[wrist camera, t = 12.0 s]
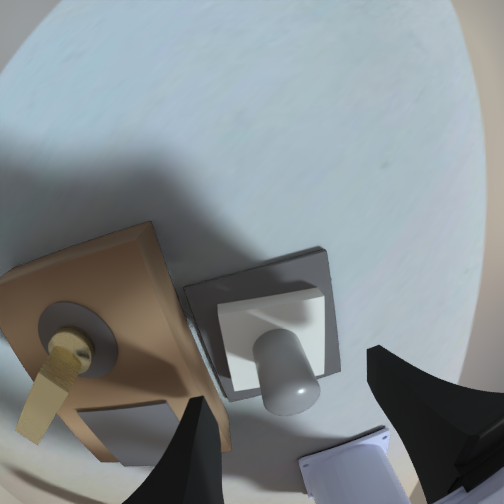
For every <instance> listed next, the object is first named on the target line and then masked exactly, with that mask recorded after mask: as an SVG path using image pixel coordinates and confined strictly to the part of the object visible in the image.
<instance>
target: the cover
mask: <svg viewBox="0 0 504 504" xmlns="http://www.w3.org/2000/svg"><path fill="white" fill-rule="evenodd" d="M217 306H218V318H219V323H220V327H221V332H222V337H223V342H224V346H225V351H226V356H227V360H228V365H229V369H230V374H231V378H232V383H233V387H234V391H240V390H247V389H253V388H259V387H260V389H261V394H262V399H263V403H264V406H265V408H266V409H267V410H268V411H269V412H271V413H273V414H275V415H279V416H290V415H295V414H299V413H301V412H304V411H305V410H307V409H309V408H310V407H311V406H313V405H314V404H315V403H316V401H317V400H318V398H319V396H320V392H321V390H320V386H319V383H318V381H317V379H316V377H315V376H318V375H322V374H324V360H325V300H324V295H323V294H322V292H321V291H320V289H319V288H318V287H316V288H311V289H306V290H300V291H295V292H289V293H283V294H278V295H272V296H266V297H260V298H254V299H248V300H242V301H235V302H229V303H223V304H217Z"/></svg>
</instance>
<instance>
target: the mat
mask: <svg viewBox="0 0 504 504" xmlns="http://www.w3.org/2000/svg"><path fill="white" fill-rule="evenodd" d="M316 287H318V288H319V289H320V291H321V292H322V294H323V295H324V300H325V360H324V374H322V375H318V376H315V377H316V379H319V378H322V377H325V376H329V375H332V374H334V373H337V372H340V371H341V364H340V353H339V343H338V333H337V324H336V315H335V307H334V299H333V291H332V283H331V276H330V269H329V262H328V256H327V251H326V250H325V249H323V250H319V251H316V252H312V253H309V254H305V255H301V256H298V257H294V258H290V259H287V260H283V261H279V262H276V263H272V264H268V265H265V266H261V267H257V268H253V269H250V270H246V271H242V272H239V273H235V274H231V275H227V276H223V277H220V278H216V279H212V280H208V281H204V282H201V283H197V284H193V285H189V286H185V287H184V291H185V294H186V297H187V299H188V302H189V305H190V307H191V310H192V313H193V315H194V318H195V321H196V323H197V326H198V328H199V331H200V333H201V336H202V338H203V341H204V343H205V346H206V348H207V351H208V353H209V356H210V358H211V361H212V363H213V365H214V368H215V370H216V373H217V375H218V377H219V380H220V382H221V384H222V387H223V389H224V391H225V393H226V396H227V398H228V400H229V402H234V401H238V400H243V399H247V398H251V397H255V396H259V395H262V394H261V389H260V387H259V388H253V389H247V390H240V391H234V387H233V383H232V378H231V374H230V369H229V365H228V360H227V356H226V351H225V346H224V342H223V337H222V332H221V327H220V323H219V318H218V306H217V304H223V303H229V302H235V301H242V300H248V299H254V298H260V297H266V296H272V295H278V294H283V293H289V292H295V291H300V290H306V289H311V288H316Z"/></svg>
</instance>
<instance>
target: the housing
mask: <svg viewBox="0 0 504 504" xmlns="http://www.w3.org/2000/svg"><path fill="white" fill-rule="evenodd" d="M67 325H68V326H74V327H77V328H79V329H81V330H82V331H84V332H85V333H86V334H87V335H88V336H89V337H90V339H91V340H92V342H93V344H94V347H95V355H94V357H93V360H92V362H91V364H90V366H89V368H88V370H87V371H86V372H84V373H81V374H78V375H77V377H76V379H75V381H74V383H73V385H72V387H71V390H70V392H69V394H68V395H67V397H66V399H65V400H64V402H63V403H62V405H61V407H60V408H59V410H58V412H57V414H58V415H59V416H60V418H61V419H62V420H63V421H64V422H65V424H66V425H67V426H68V427H69V428H70V429H71V431H72V432H73V433H74V434H75V435H76V436H77V437H78V439H79V440H80V441H81V442H82V443H83V444H84V445H85V446H86V447H87V448H88V449H89V450H90V451H91V453H92V454H93V455H94V456H95V457H96V458H97V459H98V460H99V461H100V462H120V463H121V464H122V465H123V466H151V465H157V463H158V462H159V460H160V459H161V457H162V456H163V454H164V452H165V450H166V449H167V447H168V445H169V443H170V441H171V439H172V438H173V436H174V433H175V431H176V429H177V427H178V425H179V423H180V420H181V418H182V416H183V413H184V411H185V408H186V406H187V403H188V401H189V399H190V398H192V397H198V396H203V395H204V397H205V399H206V401H207V403H208V405H209V407H210V409H211V411H212V413H213V415H214V416H215V418H216V420H217V422H218V425H219V432H220V439H221V453H223V452H229V451H232V449H231V439H230V429H229V418H228V414H227V412H226V409H225V407H224V405H223V403H222V401H221V399H220V397H219V395H218V392H217V390H216V388H215V386H214V384H213V381H212V379H211V377H210V375H209V372H208V370H207V368H206V366H205V363H204V361H203V359H202V356H201V354H200V352H199V349H198V347H197V345H196V342H195V340H194V337H193V335H192V332H191V330H190V327H189V325H188V323H187V320H186V317H185V315H184V312H183V310H182V307H181V305H180V302H179V299H178V297H177V294H176V291H175V289H174V286H173V283H172V281H171V278H170V275H169V272H168V270H167V267H166V264H165V261H164V258H163V255H162V252H161V250H160V247H159V244H158V241H157V238H156V235H155V232H154V229H153V225H152V222H151V221H149V222H145V223H142V224H139V225H136V226H132V227H129V228H126V229H123V230H120V231H117V232H114V233H110V234H107V235H104V236H101V237H98V238H95V239H92V240H89V241H86V242H83V243H81V244H78V245H75V246H72V247H69V248H66V249H63V250H61V251H58V252H55V253H52V254H49V255H47V256H44V257H41V258H39V259H36V260H33V261H31V262H28V263H25V264H23V265H20V266H17V267H15V268H12V269H11V270H9V271H8V272H7V273H5V274H4V275H3V276H1V277H0V328H1V330H2V332H3V334H4V335H5V337H6V339H7V341H8V342H9V344H10V346H11V348H12V349H13V351H14V353H15V354H16V356H17V357H18V359H19V361H20V362H21V364H22V365H23V367H24V368H25V370H26V371H27V373H28V374H29V376H30V377H31V379H32V380H33V382H34V381H35V379H36V377H37V375H38V372H39V371H40V369H41V367H42V366H43V364H44V363H45V361H46V359H47V358H48V356H49V355H50V353H49V349H48V345H49V342H50V340H51V339H52V337H53V336H54V334H55V333H56V331H57V330H58V329H59V328H60V327H62V326H67Z"/></svg>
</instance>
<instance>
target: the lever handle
mask: <svg viewBox="0 0 504 504" xmlns="http://www.w3.org/2000/svg"><path fill="white" fill-rule="evenodd" d="M48 349H49V353H50V355H49V356H48V358H47V359H46V361H45V363H44V364H43V366H42V367H41V369H40V371H39V372H38V375H37V377H36V379H35V381H34V384H33V386H32V388H31V391H30V393H29V395H28V398H27V400H26V403H25V405H24V408H23V410H22V413H21V415H20V418H19V421H18V423H17V426H16V429H15V431H17V432H18V433H20V434H21V435H23V436H24V437H26V438H27V439H29V440H30V441H32V442H33V443H35V444H36V445H38V444H39V442H40V440H41V439H42V437H43V435H44V433H45V432H46V430H47V428H48V427H49V425H50V423H51V422H52V420H53V418H54V417H55V415H56V413H57V412H58V410H59V408H60V407H61V405H62V403H63V402H64V400H65V399H66V397H67V395H68V394H69V392H70V390H71V387H72V385H73V383H74V381H75V379H76V377H77V375H78V374H81V373H84V372H86V371H87V370H88V368H89V366H90V364H91V362H92V360H93V357H94V355H95V347H94V344H93V342H92V340H91V339H90V337H89V336H88V335H87V334H86V333H85V332H84V331H82V330H81V329H79V328H77V327H74V326H68V325H67V326H62V327H60V328H59V329H58V330H57V331H56V333H55V334H54V336H53V337H52V339H51V340H50V342H49V345H48Z"/></svg>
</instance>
